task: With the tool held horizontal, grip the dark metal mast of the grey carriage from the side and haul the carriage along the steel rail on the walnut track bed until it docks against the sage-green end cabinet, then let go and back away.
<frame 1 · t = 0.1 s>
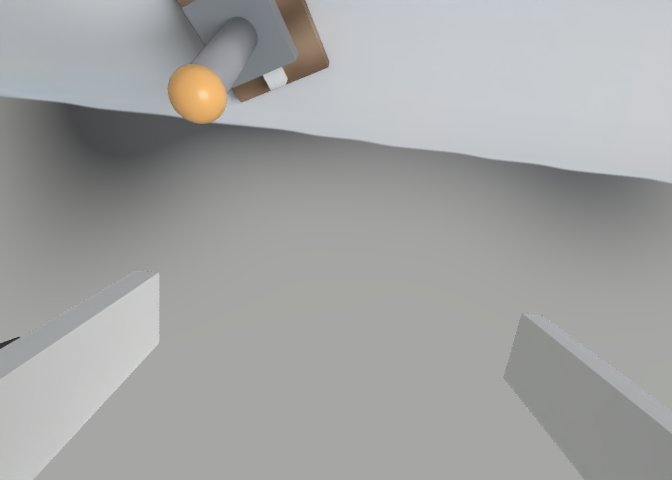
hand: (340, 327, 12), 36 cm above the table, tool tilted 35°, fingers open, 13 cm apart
carriage: (224, 58, 29), point 11 cm above the table, slide at 0.0 cm
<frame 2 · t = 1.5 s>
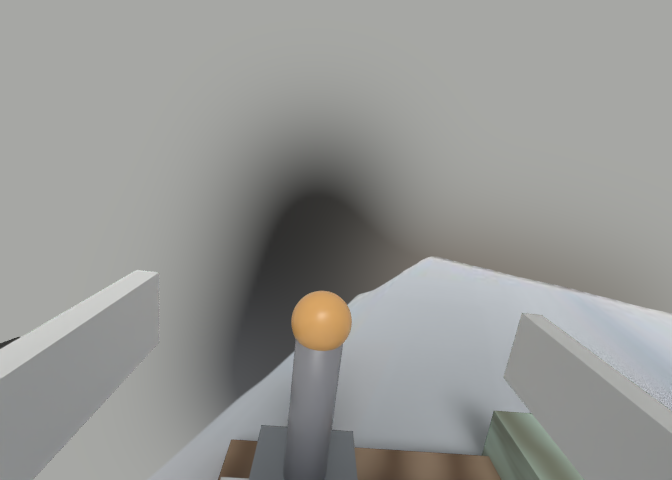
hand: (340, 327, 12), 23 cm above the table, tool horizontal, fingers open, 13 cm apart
carriage: (312, 406, 24), point 11 cm above the table, slide at 0.0 cm
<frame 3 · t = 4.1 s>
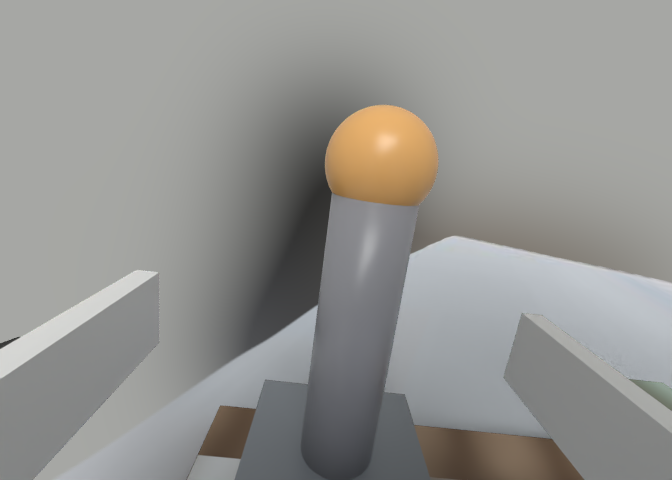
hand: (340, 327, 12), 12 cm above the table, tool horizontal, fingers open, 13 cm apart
carriage: (354, 332, 13), point 11 cm above the table, slide at 0.0 cm
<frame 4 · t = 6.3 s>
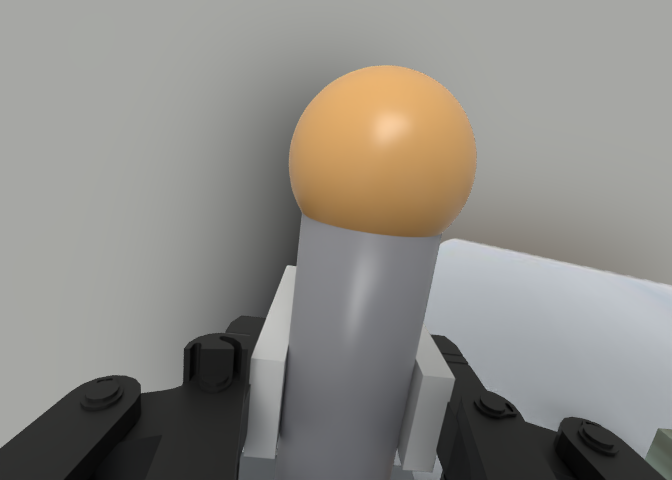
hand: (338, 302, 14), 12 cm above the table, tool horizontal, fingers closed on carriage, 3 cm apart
carriage: (340, 419, 9), point 11 cm above the table, slide at 0.0 cm, touching gripper
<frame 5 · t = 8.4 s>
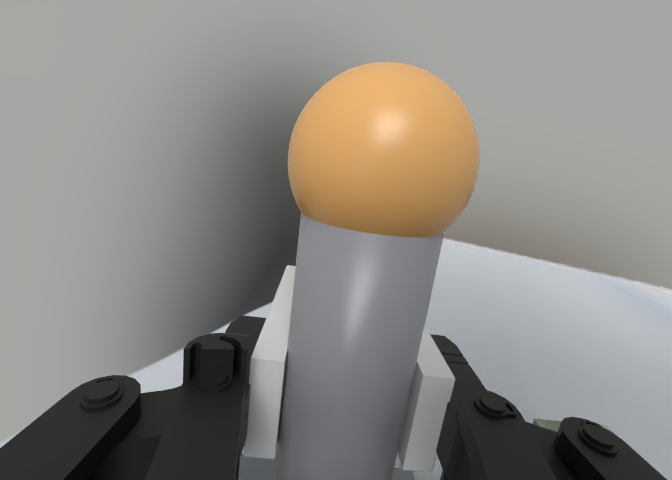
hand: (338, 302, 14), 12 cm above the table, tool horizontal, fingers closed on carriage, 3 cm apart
carriage: (339, 421, 9), point 11 cm above the table, slide at 7.2 cm, touching gripper
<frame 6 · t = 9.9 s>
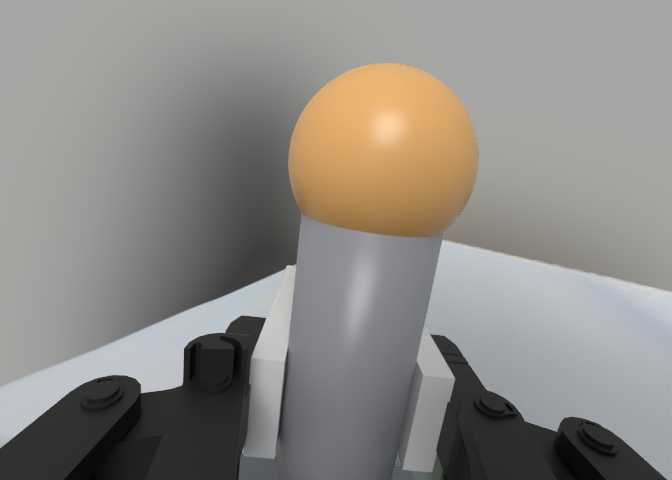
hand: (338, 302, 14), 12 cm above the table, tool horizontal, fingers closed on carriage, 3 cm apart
carriage: (340, 420, 9), point 11 cm above the table, slide at 13.0 cm, touching gripper
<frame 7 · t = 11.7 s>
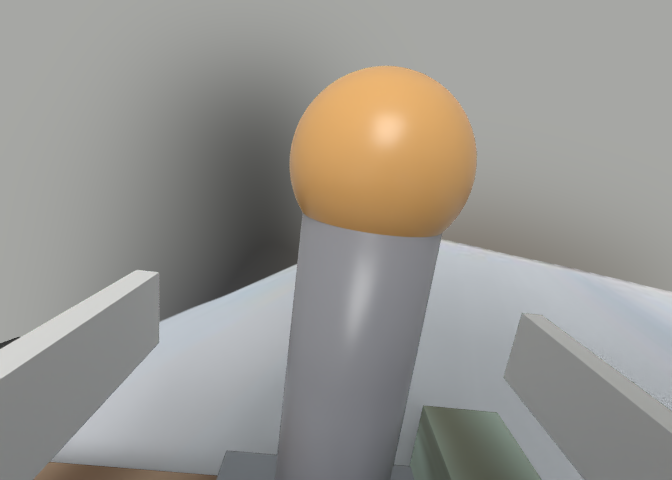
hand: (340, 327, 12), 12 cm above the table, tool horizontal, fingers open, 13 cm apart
carriage: (340, 418, 9), point 11 cm above the table, slide at 13.0 cm
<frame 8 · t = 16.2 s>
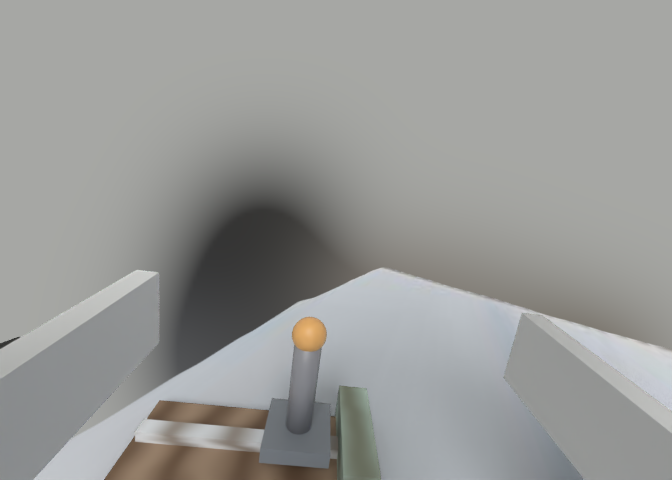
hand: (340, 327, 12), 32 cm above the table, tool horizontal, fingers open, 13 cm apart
carriage: (303, 384, 40), point 11 cm above the table, slide at 13.0 cm
track bed: (255, 454, 42), on the table
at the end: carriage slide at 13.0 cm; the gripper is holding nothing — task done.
